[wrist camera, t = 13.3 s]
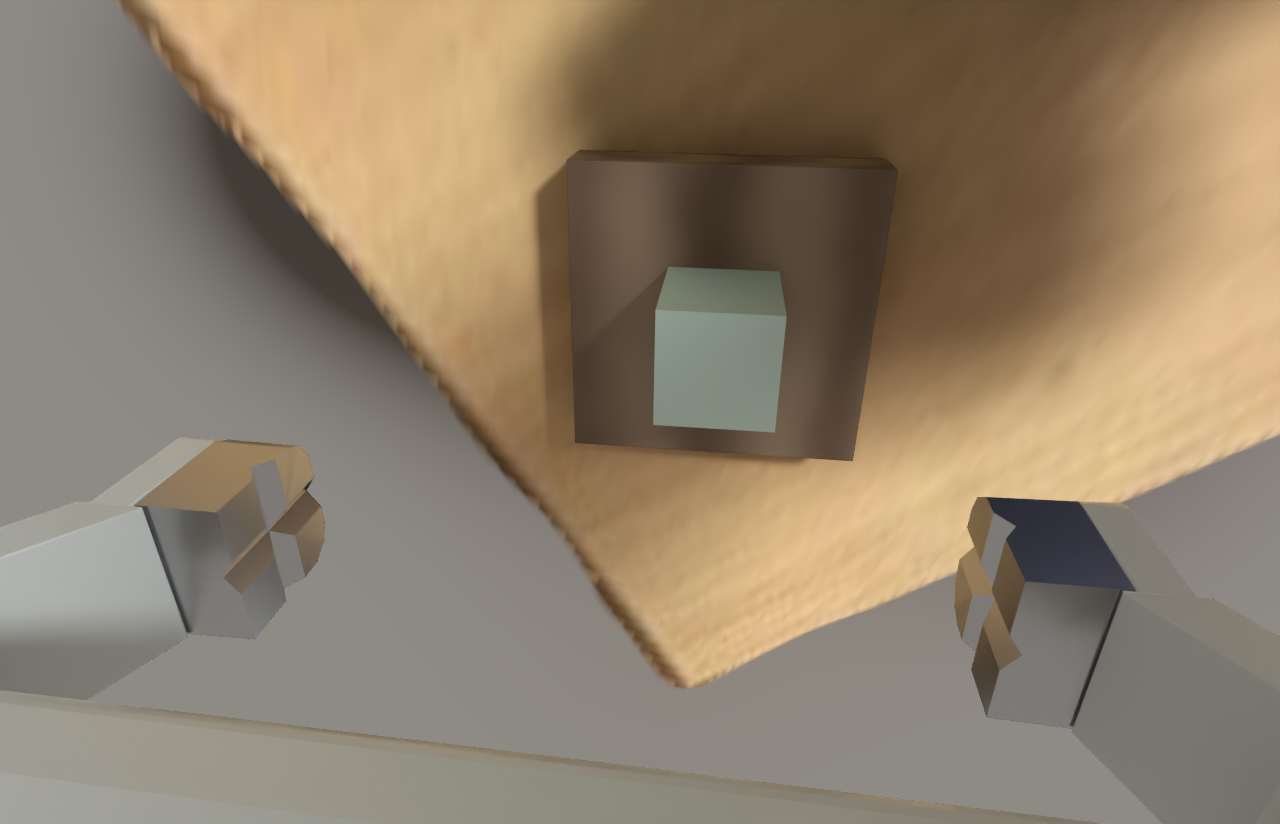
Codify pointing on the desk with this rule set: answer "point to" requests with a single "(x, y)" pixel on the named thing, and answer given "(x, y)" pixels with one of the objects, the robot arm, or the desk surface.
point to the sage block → (719, 349)
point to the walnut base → (726, 239)
